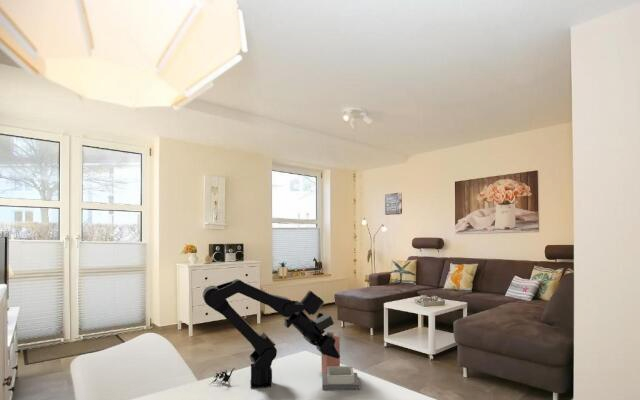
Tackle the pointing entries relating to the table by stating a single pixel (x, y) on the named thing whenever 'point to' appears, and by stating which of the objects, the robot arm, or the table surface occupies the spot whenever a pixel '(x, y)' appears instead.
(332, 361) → the pink square bar
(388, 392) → the table surface
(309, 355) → the table surface
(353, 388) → the grey socket base
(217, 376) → the creature
